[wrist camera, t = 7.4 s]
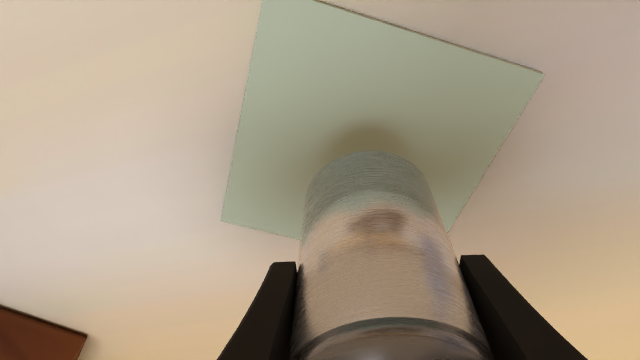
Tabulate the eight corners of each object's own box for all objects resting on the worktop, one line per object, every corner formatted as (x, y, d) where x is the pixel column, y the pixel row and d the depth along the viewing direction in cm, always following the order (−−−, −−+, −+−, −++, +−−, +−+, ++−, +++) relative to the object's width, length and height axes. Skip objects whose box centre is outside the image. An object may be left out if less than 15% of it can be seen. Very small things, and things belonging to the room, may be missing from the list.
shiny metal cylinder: (435, 144, 12) (527, 341, 7) (428, 248, 15) (491, 457, 9) (296, 156, 13) (265, 350, 7) (312, 255, 15) (300, 461, 9)
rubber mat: (540, 71, 15) (545, 74, 15) (423, 263, 21) (424, 269, 21) (267, -17, 14) (265, -15, 13) (222, 216, 20) (220, 221, 19)
